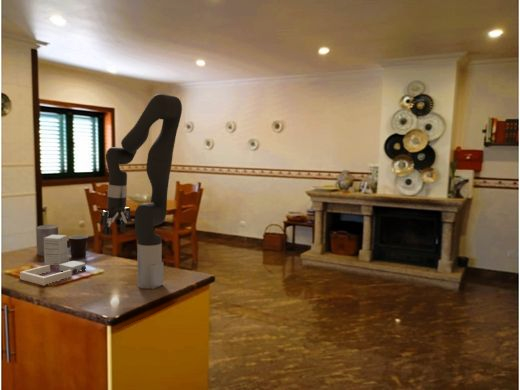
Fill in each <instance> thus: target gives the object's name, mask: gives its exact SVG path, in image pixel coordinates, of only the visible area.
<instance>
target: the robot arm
mask: <svg viewBox="0 0 520 390" xmlns="http://www.w3.org/2000/svg"><path fill="white" fill-rule="evenodd" d="M182 110H183V105H182V102H181V99H180V98H178V97H177V96H174V95H170V94H163V93H157V94H155V95H153V96H152V98H151V99H150V100H149V102H148V103H147V105H146V107H145V108H144V110H143V111H142V113H141V115H140V116H139V118H138V119H137V121H136V122H135V124H134V125H133V127H132V128H131V129H130V130H129V131H128V132H127V133H126V135H125V136H124V137H123V138H122V139H121V141H120V142H121V143H120V144H121V147H120V146H119V147H117V146H116V147H114V146H111V147H110V148H108V149H107V150H106V154H105V162H106V166H107V170H108V187H107V199H106V200H107V201H106V205H107V208H108V209H107V210H101V212H100V222H99V224H100V226H104V228H103V230H104V235H105V236H110V234H111V225H112V223H114V222H115V221H117V220H119V221H120V226H119V227H120V228H119V229H120V230H119V231H120V232H121V233H125V232H126V228H127V223H128V222H130V221H131V207H127V198H128V195H127V194H128V189H127V187H128V186H127V185H128V184H127V183H128V174H127V171H125V170H123V169H121V168H120V165H128V164H130V163H131V162H133V160H134V158H135V156H136V154H137V151H138V150H139V149H140V148H141V147H142V146H143V145H144V144H145V143H146V141H147V140H148V138H149V135H150V129H151V127H152V126H153V125H154V123H156V122H157V121H159V120H162V124H161V129H160V132H159V134H158V136H157V138H156V139H155V141H154V142H153V143H152V144H151V147H150V149H149V150H148V153H147V158H146V159H147V160H146V167H145V168H146V169H145V170H146V175H147V177H148V179H149V182H150V186H151V199H150V202H146V203H141V204H138V206H137V207H136V208H135V211H134V230H135V237H136V239H137V287H138V288H140V289H147V290H148V289H151V290H154V289H157V288H159V287H162V286H164V261H162V249H163V247H162V244H163V243H162V242H163V241H162V240H163V239H162V236H161V235H160V234H157V233H155V229H154V228H155V227H154V226H158V225H161V224H162V223H164V221H165V219H166V216H167V210H168V209H167V208H168V206H167V205H168V189H169V182H170V174H171V169H172V163H173V156H174V150H175V143H176V138H177V132H178V129H179V125H180V121H181V117H182V113H183V111H182ZM161 285H162V286H161Z"/></svg>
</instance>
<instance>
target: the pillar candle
mask: <svg viewBox="0 0 520 390" xmlns="http://www.w3.org/2000/svg"><path fill="white" fill-rule="evenodd" d="M50 235H59V226H58V225H57V224H49V223H47V224H43V225H39V226H36V245H37V246H36V247H37V255H38V256H43V257H44V238H45V237H48V236H50Z"/></svg>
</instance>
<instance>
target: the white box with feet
mask: <svg viewBox="0 0 520 390" xmlns="http://www.w3.org/2000/svg"><path fill="white" fill-rule="evenodd" d="M86 264H87V262H85V261H80V260H70V261H67V262H65V263H63V264H59V265H58V266H59V267H58V270H60V271H59V272H61V271H67V270H71V273H76V272H77V271H80V270H85V269H86V270H87V267H86ZM86 270H85V271H86ZM77 273H78V272H77ZM77 273H76V274H77Z"/></svg>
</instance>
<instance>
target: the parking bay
mask: <svg viewBox="0 0 520 390" xmlns="http://www.w3.org/2000/svg"><path fill="white" fill-rule="evenodd" d="M46 272H48V273H50V272H51V265H45V264H44V265H42V266H38V267H34V268H30V269H26V270H22V271H20V272H19V278H20V280H22V281H25V282H29V283H33V284H36V285H40V286H47V285H46V284H48V285H50V284H49V283H51V284H53V283H52V282H54V283H56V282H55V281H57V282H59V281H58V280H61V279H64V278H67V277H71V276H72V275H73V274H72V273H71V270H67V271H63V272H61V271H59V272H57V273H56V272H55V273H54V274H50V275H45V276H44V275H43V274H42V273H45V274H47V273H46ZM38 274H41V275H38ZM72 277H73V276H72ZM72 277H71V278H72ZM67 279H68V278H67ZM64 280H65V279H64ZM61 281H62V280H61Z"/></svg>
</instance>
